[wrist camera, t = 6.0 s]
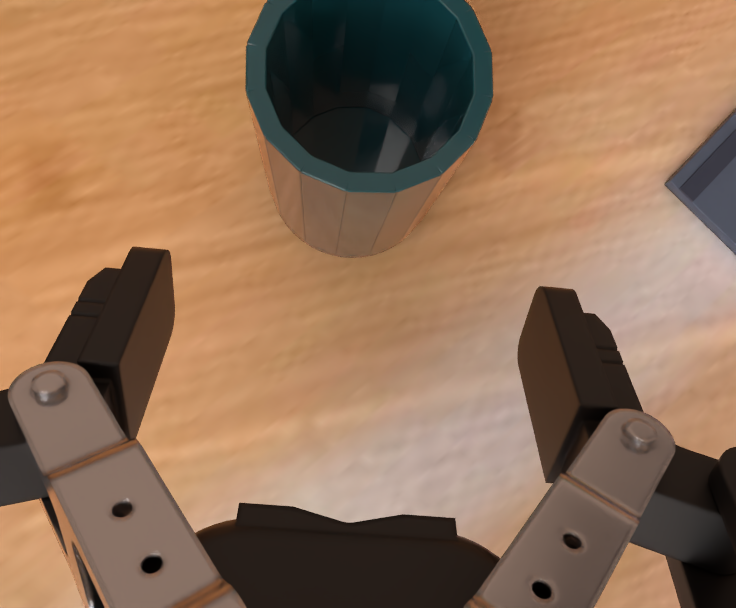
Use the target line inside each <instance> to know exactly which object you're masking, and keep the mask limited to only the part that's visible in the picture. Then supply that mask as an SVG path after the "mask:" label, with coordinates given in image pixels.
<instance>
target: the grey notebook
mask: <svg viewBox="0 0 736 608" xmlns="http://www.w3.org/2000/svg"><path fill="white" fill-rule="evenodd" d="M665 186H666V187H667V188H669V189H670V190H671V191H672V192H673V193H674V194H675V195H676V196H677V197H678V198H679V199H680V200H681V201H682V202H683V203H684V204H685V205H686V206H687V207H688V208H689V209H690V210H691V211H692V212H693V213H694V214H695V215H696V216H697V217H698V218H699V219H700V220H701V221H702V222H703V223H704V224H705V225H706V226H707V227H708V228H709V229H710V230H711V231H713V232H714V233H715V234H716V235H717V236H718V237H719V238H720V239H721V240H722V241H723V242H724V243H725V244H726V245H727V246H728V247H729V248H730V249H731V250H732V251H733V252H734V253H735V254H736V109H735V110H734V111H733V112H732V113H731V114H730V116H729V117H728V118H727V119H726V120H725V121H724V122H723V123H722V124H721V125H720V126H719V127H718V128H717V129H716V130H715V131H714V132H713V133H712V134H711V135H710V137H709V138H708V139H707V140H706V141H705V142H704V143H703V144H702V145H701V146H700V147H699V148H698V149H697V150H696V151H695V152H694V153H693V154H692V155H691V157H690V158H689V159H688V160H687V161H686V162H685V163H684V164H683V165H682V166H681V167H680V168H679V169H678V170H677V171H676V172H675V173H674V174H673V175H672V176H671V178H670V179H669V180H668V181H667V182H666V183H665Z"/></svg>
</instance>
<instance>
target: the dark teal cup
mask: <svg viewBox="0 0 736 608" xmlns="http://www.w3.org/2000/svg"><path fill="white" fill-rule="evenodd" d="M245 90H246V95H247V99H248V103H249V108H250V112H251V116H252V120H253V124H254V128H255V132H256V136H257V140H258V144H259V149H260V153H261V157H262V161H263V165H264V169H265V173H266V177H267V181H268V185H269V189H270V192H271V194H272V197H273V200H274V202H275V205H276V208H277V210H278V212H279V214H280V216H281V218H282V219H283V221H284V222H285V224H286V225H287V226H288V228H289V229H290V230H291V231H292V232H293V233H294V234H295V235H296V236H297V237H298V238H299V239H301V240H302V241H303V242H305V243H306V244H308V245H309V246H311V247H313V248H315V249H317V250H319V251H321V252H324V253H327V254H330V255H334V256H339V257H349V258H356V257H366V256H371V255H375V254H378V253H381V252H384V251H386V250H388V249H390V248H392V247H393V246H395V245H396V244H398V243H400V242H401V241H402V240H403V239H404V238H406V237H407V236H408V235H409V234H410V233H411V232H412V231H413V229H414V228H415V227H416V226H417V225H418V224H419V223H420V222H421V221H422V219H423V218H424V216H425V215H426V213H427V212H428V211H429V209H430V208H431V206H432V205H433V203H434V202H435V200H436V199H437V197H438V196H439V194H440V193H441V191H442V190H443V188H444V187H445V186H446V184H447V183H448V181H449V180H450V178H451V177H452V175H453V174H454V172H455V171H456V169H457V168H458V166H459V165H460V164H461V162H462V161H463V159H464V158H465V156H466V155H467V153H468V152H469V150H470V149H471V147H472V146H473V144H474V143H475V141H476V140H477V138H478V135H479V133H480V130H481V128H482V125H483V123H484V120H485V118H486V115H487V113H488V110H489V108H490V105H491V103H492V98H493V68H492V52H491V48H490V46H489V44H488V42H487V39H486V37H485V35H484V33H483V30H482V28H481V26H480V24H479V21H478V19H477V17H476V15H475V12H474V10H473V9H472V7H471V6H470V5H469V4H468V3H467V2H466V1H465V0H267V2H266V3H265V4H264V6H263V9H262V11H261V13H260V15H259V17H258V20H257V22H256V24H255V26H254V28H253V30H252V33H251V35H250V37H249V39H248V41H247V46H246V85H245Z"/></svg>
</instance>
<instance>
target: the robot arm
mask: <svg viewBox="0 0 736 608" xmlns="http://www.w3.org/2000/svg"><path fill="white" fill-rule="evenodd" d="M174 317H175V302H174V289H173V277H172V264H171V255H170V252H169V250H163V249H153V248H142V247H132V248H131V249H130V251H129V253H128V255H127V257H126V260H125V262H124V264H123V266H122V268H121V269H115V268H104V269H103V270H102V271H100V272H99V273H98V274H96V275H95V276H94V277H92V278H91V279H90V280H89V281H87V283H86V285H85V287H84V289H83V291H82V292H81V294H80V296H79V298H78V302H76V304H75V306H74V307H73V309H72V311H71V315H69V317H68V319H67V321H66V322H65V324H64V326H63V328H62V330H61V332H60V334H59V336H58V337H57V339H56V341H55V343H54V345H53V347H52V349H51V351H50V352H49V354H48V356H47V358H46V360H45V362H44V363H43V364H39V365H36V366H34V367H31V368H29V369H28V370H26V371H24V372H23V373H21V374H20V375H19V376H18V377H17V378H16V379H15V380H14V381H13V382H12V384H11V386H10V388H9V389H6V390H2V391H0V506H5V505H10V504H15V503H20V502H25V501H30V500H35V499H39V500H40V503H41V505H42V507H43V509H44V512H45V514H46V516H47V518H48V521H49V523H50V525H51V527H52V529H53V532H54V534H55V536H56V538H57V541H58V543H59V545H60V547H61V549H62V552H63V554H64V556H65V558H66V561H67V563H68V565H69V567H70V570H71V572H72V575H73V577H74V580H75V583H76V585H77V588H78V591H79V594H80V596H81V599H82V601H83V604H84V606H85V608H594V606H595V605H596V603H597V601H598V599H599V597H600V595H601V593H602V591H603V590H604V588H605V586H606V584H607V582H608V580H609V578H610V576H611V575H612V573H613V571H614V569H615V567H616V565H617V563H618V561H619V560H620V558H621V556H622V554H623V552H624V550H625V548H626V547H627V545H628V543H629V542H630V543H633V544H635V545H638V546H641V547H643V548H646V549H649V550H652V551H654V552H657V553H660V554H663V555H665V556H666V559H667V562H668V566H669V569H670V572H671V576H672V579H673V582H674V586H675V589H676V592H677V596H678V599H679V603H680V606H681V608H736V447H733V448H729V449H728V450H726V451H725V452H724V453H723V454H722V456H721V457H720V459H719V460H717V459H714V458H711V457H708V456H705V455H702V454H699V453H696V452H693V451H690V450H687V449H685V448H682V447H679V446H677V445H675V442H674V439H673V437H672V435H671V433H670V432H669V431H668V429H667V428H666V427H665V426H664V425H663V424H662V423H661V422H659V421H658V420H657V419H655V418H654V417H652V416H650V415H648V414H646V413H644V412H643V410H642V407H641V405H640V402H639V400H638V397H637V395H636V392H635V390H634V387H633V385H632V382H631V380H630V377H629V375H628V373H627V370H626V368H625V365H623V360H622V358H621V355H620V353H619V351H617V345H616V343H615V340H614V338H613V336H612V333H611V331H610V329H609V328H608V327H607V326H606V325H605V324H604V323H603V322H602V321H601V320H600V319H599V318H598V317H597V316H596V315H595V314H590V313H583V310H582V308H581V305H580V302H579V299H578V297H577V294H576V292H575V291H574V290H573V289H565V288H554V287H544V286H540V287H538V288H537V290H536V292H535V294H534V297H533V300H532V303H531V306H530V309H529V312H528V315H527V318H526V321H525V324H524V327H523V330H522V333H521V336H520V340H519V345H518V366H519V370H520V374H521V379H522V383H523V387H524V392H525V396H526V400H527V404H528V409H529V413H530V417H531V421H532V426H533V430H534V434H535V439H536V443H537V447H538V451H539V456H540V460H541V464H542V468H543V473H544V477H545V481H546V483H553V484H552V486H551V487H550V489H549V490H548V492H547V493H546V494H545V496H544V497H543V499H542V500H541V502H540V503H539V504H538V506H537V507H536V509H535V510H534V512H533V513H532V514H531V516H530V517H529V519H528V520H527V522H526V523H525V524H524V526H523V527H522V529H521V530H520V532H519V533H518V534H517V536H516V537H515V539H514V540H513V542H512V543H511V545H510V546H509V547H508V549H507V550H506V552H505V553H504V555H503V556H502V557H501V559H500V558H499V557H498V556H496V555H495V554H493V553H492V552H491V551H489V550H488V549H486V548H484V547H483V546H481V545H479V544H477V543H475V542H473V541H471V540H469V539H466V538H464V537H461V536H458V535H457V531H456V521H455V518H445V517H431V516H417V515H397V516H391V517H385V518H378V519H372V520H366V521H360V522H354V523H346V522H341V521H338V520H335V519H332V518H328V517H325V516H322V515H319V514H315V513H312V512H309V511H306V510H302V509H299V508H296V507H291V506H277V505H263V504H249V503H239V507H238V513H237V519H236V520H230V521H225V522H221V523H218V524H214V525H212V526H209V527H207V528H204V529H202V530H200V531H198V532H196V533H194V531H193V529H192V528H191V526H190V525H189V523H188V521H187V520H186V518H185V516H184V515H183V513H182V511H181V510H180V508H179V506H178V505H177V503H176V501H175V500H174V498H173V497H172V495H171V493H170V492H169V490H168V488H167V487H166V485H165V483H164V482H163V480H162V478H161V477H160V475H159V473H158V472H157V470H156V468H155V467H154V465H153V464H152V462H151V460H150V459H149V457H148V455H147V454H146V452H145V450H144V449H143V447H142V446H141V444H140V443H139V441H138V440H137V439H136V436H137V433H138V431H139V428H140V425H141V422H142V419H143V416H144V413H145V410H146V407H147V404H148V401H149V398H150V395H151V393H152V390H153V387H154V384H155V381H156V378H157V375H158V372H159V369H160V366H161V363H162V360H163V358H164V355H165V352H166V349H167V346H168V343H169V340H170V337H171V334H172V330H173V325H174Z"/></svg>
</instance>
